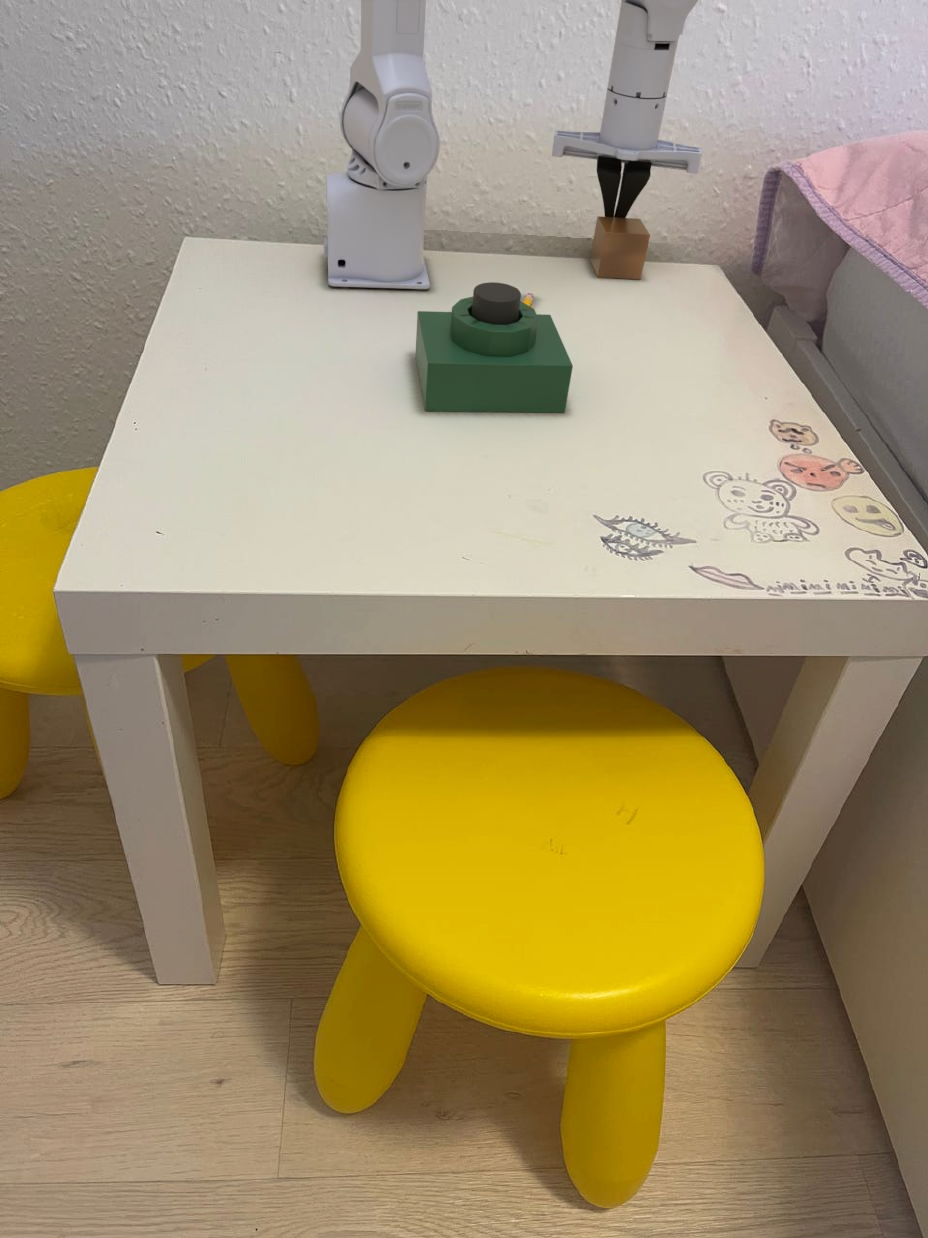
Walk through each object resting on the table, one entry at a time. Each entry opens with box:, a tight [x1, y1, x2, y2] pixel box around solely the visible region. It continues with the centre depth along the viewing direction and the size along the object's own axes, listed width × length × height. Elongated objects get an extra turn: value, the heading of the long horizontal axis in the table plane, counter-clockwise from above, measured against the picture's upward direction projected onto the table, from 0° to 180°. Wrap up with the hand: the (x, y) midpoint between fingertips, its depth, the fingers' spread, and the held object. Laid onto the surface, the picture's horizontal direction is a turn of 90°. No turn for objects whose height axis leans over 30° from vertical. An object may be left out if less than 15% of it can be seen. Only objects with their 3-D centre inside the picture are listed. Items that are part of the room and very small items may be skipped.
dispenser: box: [414, 296, 573, 414], centre depth 72 cm, size 11×9×6 cm
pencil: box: [522, 292, 535, 307], centre depth 85 cm, size 1×9×1 cm, turn 167°
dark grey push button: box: [472, 281, 522, 325], centre depth 70 cm, size 4×4×2 cm
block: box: [589, 215, 651, 281], centre depth 94 cm, size 4×4×4 cm
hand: (610, 236), depth 97 cm, fingers closed
